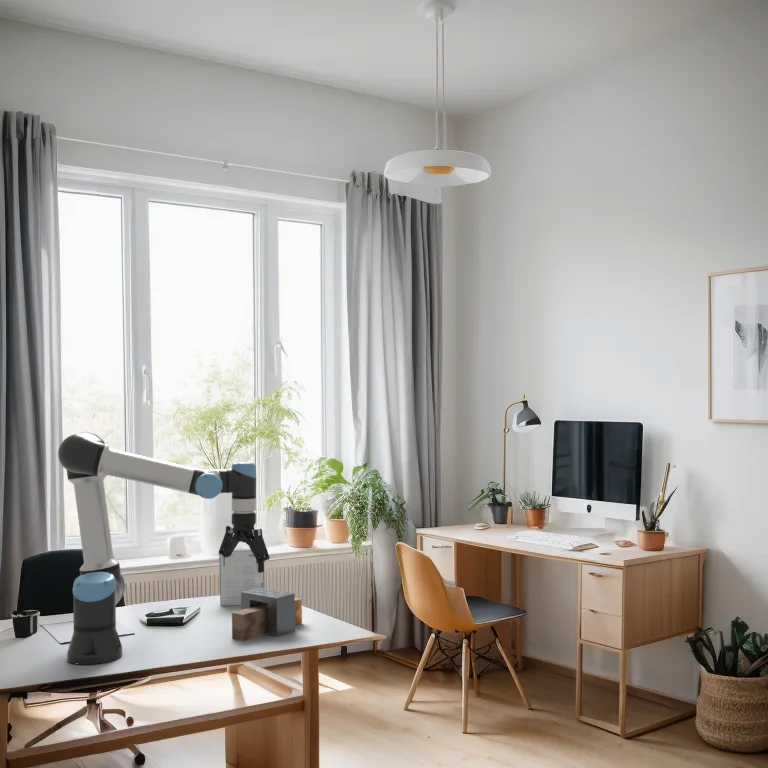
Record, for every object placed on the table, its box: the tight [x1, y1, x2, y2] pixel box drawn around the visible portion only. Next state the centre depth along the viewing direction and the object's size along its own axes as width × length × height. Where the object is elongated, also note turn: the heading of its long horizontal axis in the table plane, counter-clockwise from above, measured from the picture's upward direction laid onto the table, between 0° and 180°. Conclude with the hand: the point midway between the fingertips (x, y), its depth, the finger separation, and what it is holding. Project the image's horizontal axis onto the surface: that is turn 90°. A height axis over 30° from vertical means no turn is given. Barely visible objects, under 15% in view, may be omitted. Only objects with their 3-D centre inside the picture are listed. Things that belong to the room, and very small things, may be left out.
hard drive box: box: [218, 546, 266, 607], centre depth 318 cm, size 16×8×20 cm, turn 89°
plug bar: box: [231, 597, 303, 642], centre depth 279 cm, size 26×6×8 cm, turn 142°
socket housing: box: [240, 587, 296, 638], centre depth 279 cm, size 8×16×12 cm, turn 53°
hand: (243, 580), depth 271 cm, fingers open, 13 cm apart
